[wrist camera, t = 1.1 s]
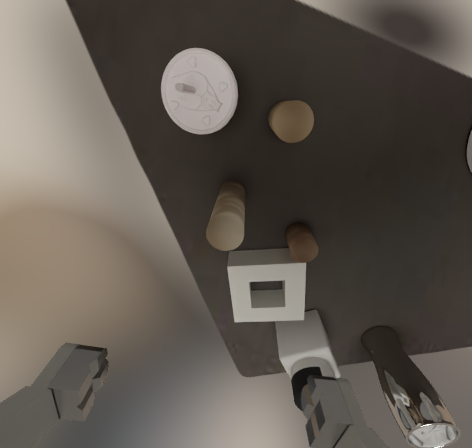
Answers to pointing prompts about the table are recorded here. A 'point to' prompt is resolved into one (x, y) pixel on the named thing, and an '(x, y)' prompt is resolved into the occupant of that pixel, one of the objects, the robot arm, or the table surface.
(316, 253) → the walnut pin
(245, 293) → the socket block
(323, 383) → the robot arm
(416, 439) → the beer glass
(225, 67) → the smoothie
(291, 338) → the container
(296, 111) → the oak pin
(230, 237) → the maple pin
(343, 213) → the table surface
